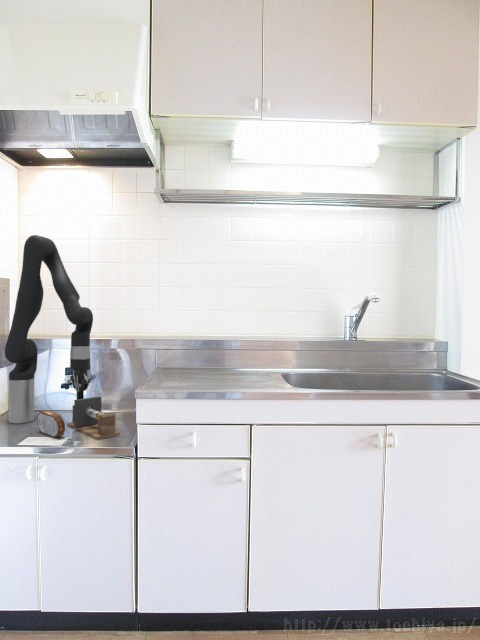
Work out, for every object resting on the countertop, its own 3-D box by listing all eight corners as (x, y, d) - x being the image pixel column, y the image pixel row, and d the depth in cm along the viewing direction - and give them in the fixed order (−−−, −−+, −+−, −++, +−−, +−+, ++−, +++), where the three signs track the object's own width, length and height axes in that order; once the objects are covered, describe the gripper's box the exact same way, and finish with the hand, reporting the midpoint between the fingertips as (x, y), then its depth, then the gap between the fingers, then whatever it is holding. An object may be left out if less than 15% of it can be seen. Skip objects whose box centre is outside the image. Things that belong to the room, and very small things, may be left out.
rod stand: (67, 425, 165) (67, 406, 165) (89, 421, 172) (89, 402, 172) (96, 440, 149) (97, 418, 148) (119, 434, 155) (120, 413, 155)
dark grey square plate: (74, 426, 160) (74, 399, 160) (98, 421, 167) (98, 396, 167) (76, 427, 159) (76, 400, 158) (101, 422, 166) (101, 397, 166)
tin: (65, 438, 150) (66, 414, 150) (57, 440, 148) (57, 416, 148) (43, 430, 159) (44, 408, 159) (35, 432, 157) (35, 409, 157)
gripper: (63, 356, 169) (63, 399, 169) (78, 359, 160) (78, 404, 160) (81, 355, 174) (81, 396, 175) (97, 358, 165) (96, 401, 166)
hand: (80, 400), depth 167 cm, fingers closed
